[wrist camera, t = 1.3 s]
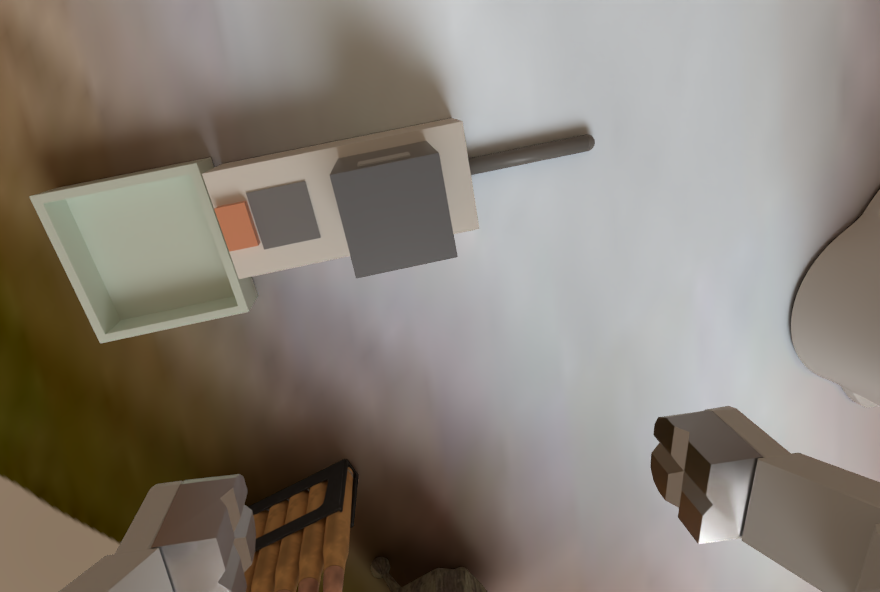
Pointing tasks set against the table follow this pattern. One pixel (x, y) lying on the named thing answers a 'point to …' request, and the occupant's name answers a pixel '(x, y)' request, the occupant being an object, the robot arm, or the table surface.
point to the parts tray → (144, 250)
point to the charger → (393, 208)
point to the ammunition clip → (304, 533)
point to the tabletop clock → (429, 579)
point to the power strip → (313, 200)
